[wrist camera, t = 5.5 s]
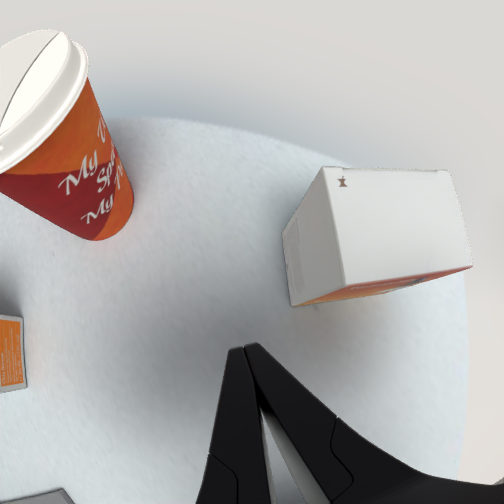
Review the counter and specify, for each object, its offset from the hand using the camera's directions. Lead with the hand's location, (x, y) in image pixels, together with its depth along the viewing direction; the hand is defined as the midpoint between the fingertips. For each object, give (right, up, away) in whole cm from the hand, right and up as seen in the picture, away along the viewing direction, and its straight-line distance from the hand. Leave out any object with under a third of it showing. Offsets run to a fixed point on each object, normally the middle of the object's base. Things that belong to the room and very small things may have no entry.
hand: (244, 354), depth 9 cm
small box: (+6, +2, +15) cm, 17 cm away
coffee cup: (-12, +7, +15) cm, 20 cm away
